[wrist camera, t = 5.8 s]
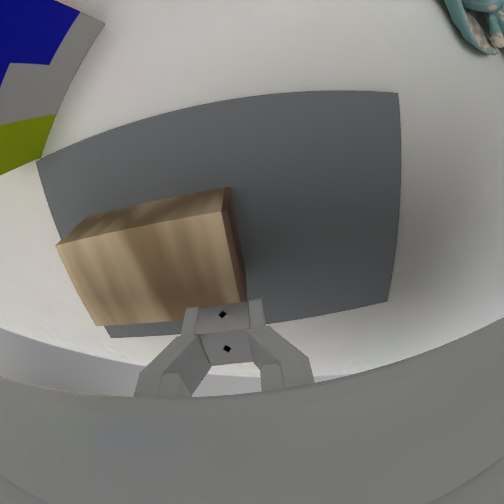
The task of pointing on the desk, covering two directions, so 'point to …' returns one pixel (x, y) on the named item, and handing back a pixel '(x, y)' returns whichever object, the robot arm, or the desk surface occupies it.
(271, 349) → the robot arm
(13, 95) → the puzzle toy
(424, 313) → the desk surface
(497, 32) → the stuffed animal
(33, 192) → the desk surface
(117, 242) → the oak block
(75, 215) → the mat
